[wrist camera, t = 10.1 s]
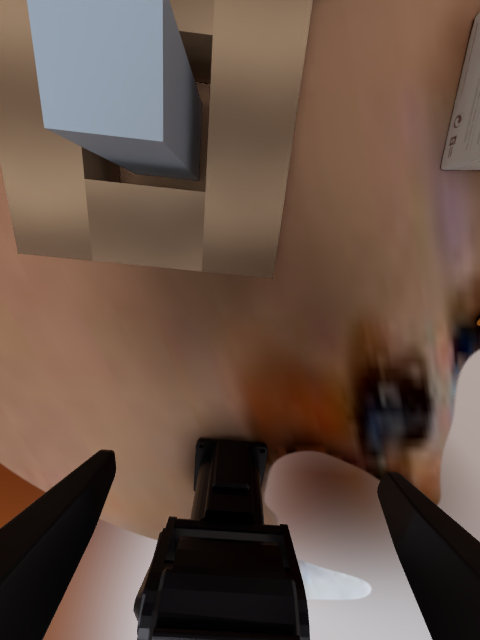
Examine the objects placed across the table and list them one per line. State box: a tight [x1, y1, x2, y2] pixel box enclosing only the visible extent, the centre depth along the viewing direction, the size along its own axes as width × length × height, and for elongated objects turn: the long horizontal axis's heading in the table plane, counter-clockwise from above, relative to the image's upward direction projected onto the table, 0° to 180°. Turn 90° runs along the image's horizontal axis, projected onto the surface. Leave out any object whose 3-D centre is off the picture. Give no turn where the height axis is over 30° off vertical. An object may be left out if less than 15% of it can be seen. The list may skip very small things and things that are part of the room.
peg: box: [27, 0, 202, 181], centre depth 12 cm, size 4×4×8 cm
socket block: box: [0, 0, 313, 279], centre depth 14 cm, size 14×14×4 cm
